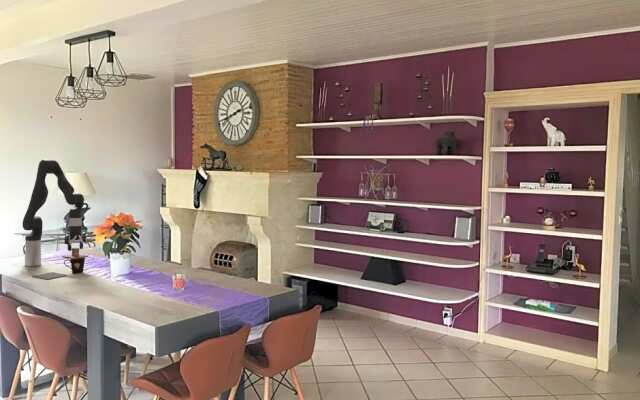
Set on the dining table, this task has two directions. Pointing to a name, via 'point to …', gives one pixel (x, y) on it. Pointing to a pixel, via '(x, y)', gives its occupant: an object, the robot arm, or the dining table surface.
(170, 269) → the dining table surface
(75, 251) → the lid
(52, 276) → the mat
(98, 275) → the dining table surface
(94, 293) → the dining table surface
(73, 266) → the coffee mug
